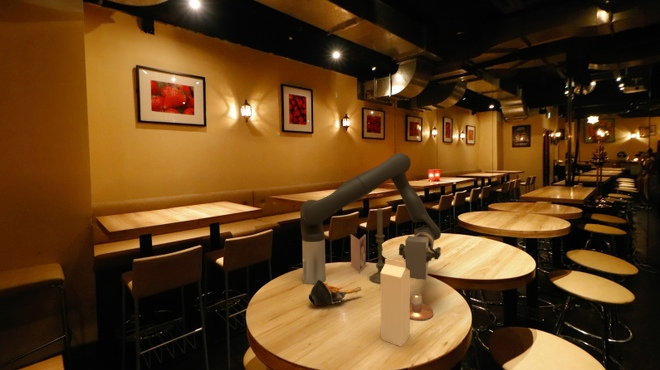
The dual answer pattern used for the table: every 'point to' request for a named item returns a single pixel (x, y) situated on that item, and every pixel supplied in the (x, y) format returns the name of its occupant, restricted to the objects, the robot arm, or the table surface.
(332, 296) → the fried shrimp in bowl
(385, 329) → the milk
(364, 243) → the greeting card
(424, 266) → the grey rectangular block
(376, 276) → the candlestick holder
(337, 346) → the table surface
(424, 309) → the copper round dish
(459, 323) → the table surface
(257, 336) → the table surface
